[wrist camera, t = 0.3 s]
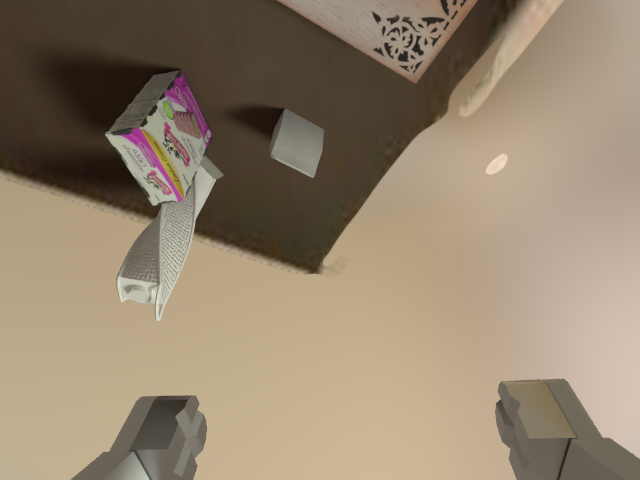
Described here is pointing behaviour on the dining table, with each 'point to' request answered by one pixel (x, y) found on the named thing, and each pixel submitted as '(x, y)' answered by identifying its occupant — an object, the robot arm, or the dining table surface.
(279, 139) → the grey bevelled box
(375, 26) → the tissue box cover
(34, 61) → the dining table surface
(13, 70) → the dining table surface
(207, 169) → the skyscraper
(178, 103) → the candy bar box
